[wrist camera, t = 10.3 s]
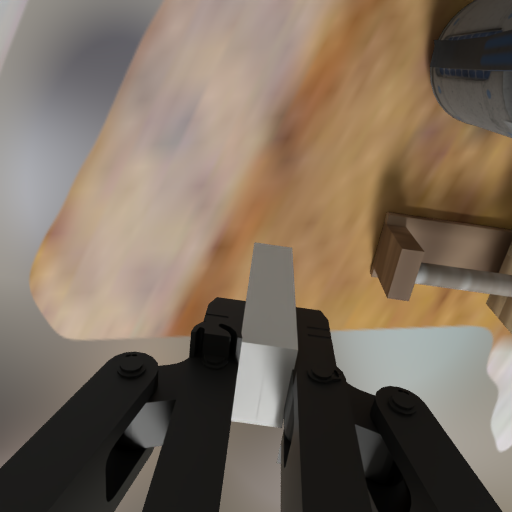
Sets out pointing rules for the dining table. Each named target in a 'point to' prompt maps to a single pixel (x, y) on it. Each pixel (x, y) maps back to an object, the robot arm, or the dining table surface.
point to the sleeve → (503, 306)
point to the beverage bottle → (476, 66)
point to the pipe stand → (440, 256)
